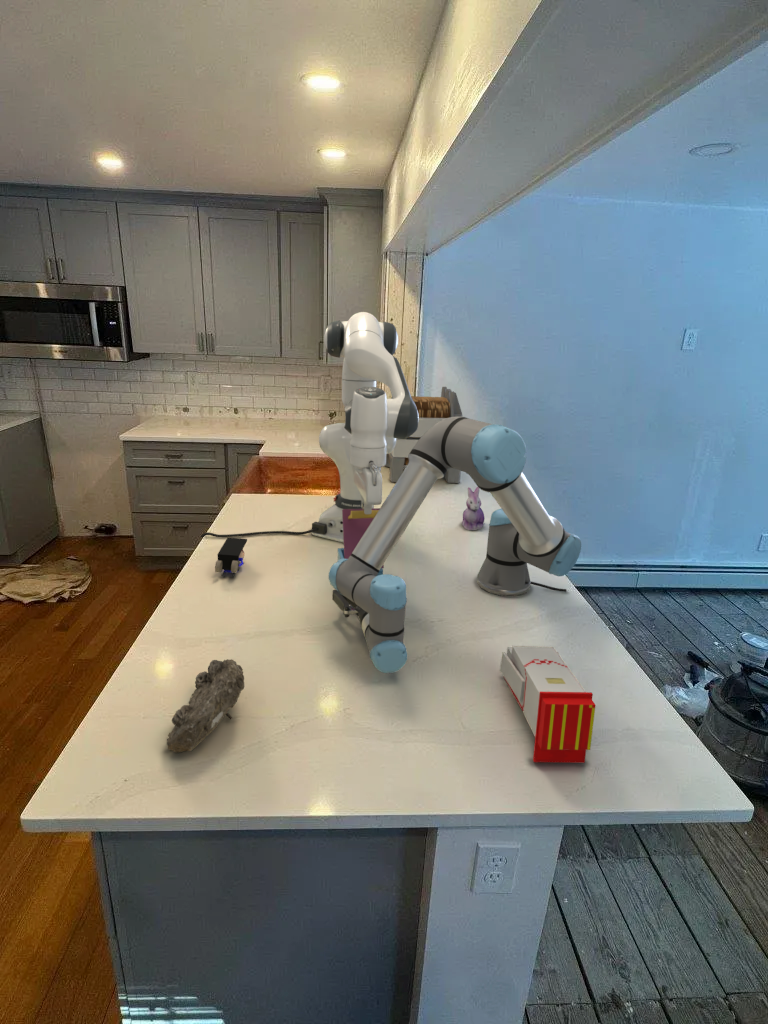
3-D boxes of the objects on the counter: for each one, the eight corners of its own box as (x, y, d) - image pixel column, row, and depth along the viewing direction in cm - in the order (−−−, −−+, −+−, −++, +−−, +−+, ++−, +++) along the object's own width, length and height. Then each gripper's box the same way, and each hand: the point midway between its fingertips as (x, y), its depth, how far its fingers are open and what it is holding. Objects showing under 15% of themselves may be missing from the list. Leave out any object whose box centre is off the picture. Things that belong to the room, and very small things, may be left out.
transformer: (382, 463, 289) (386, 382, 275) (445, 464, 293) (451, 384, 279) (390, 482, 257) (394, 392, 243) (460, 483, 261) (468, 394, 247)
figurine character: (238, 584, 162) (249, 557, 175) (236, 562, 158) (247, 536, 172) (215, 584, 161) (227, 556, 175) (212, 561, 158) (225, 535, 171)
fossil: (192, 660, 117) (244, 628, 112) (224, 691, 120) (276, 661, 115) (142, 746, 98) (202, 712, 93) (182, 779, 101) (242, 748, 96)
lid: (342, 509, 148) (346, 504, 140) (379, 508, 150) (386, 503, 142) (344, 570, 146) (349, 568, 138) (382, 568, 148) (389, 566, 140)
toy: (549, 628, 125) (605, 700, 96) (544, 683, 128) (596, 770, 99) (495, 627, 125) (534, 699, 95) (491, 683, 128) (527, 769, 98)
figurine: (470, 532, 203) (474, 493, 198) (454, 523, 212) (457, 484, 207) (491, 529, 208) (495, 490, 202) (474, 520, 216) (478, 482, 211)
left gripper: (389, 467, 127) (387, 525, 131) (373, 447, 146) (371, 499, 150) (362, 467, 126) (360, 526, 130) (349, 447, 145) (348, 499, 149)
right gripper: (328, 640, 130) (319, 594, 150) (423, 633, 135) (401, 589, 155) (328, 611, 127) (319, 568, 148) (425, 605, 132) (403, 564, 152)
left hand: (366, 511), depth 140 cm, fingers closed
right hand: (361, 579), depth 151 cm, fingers closed on chest, 10 cm apart
